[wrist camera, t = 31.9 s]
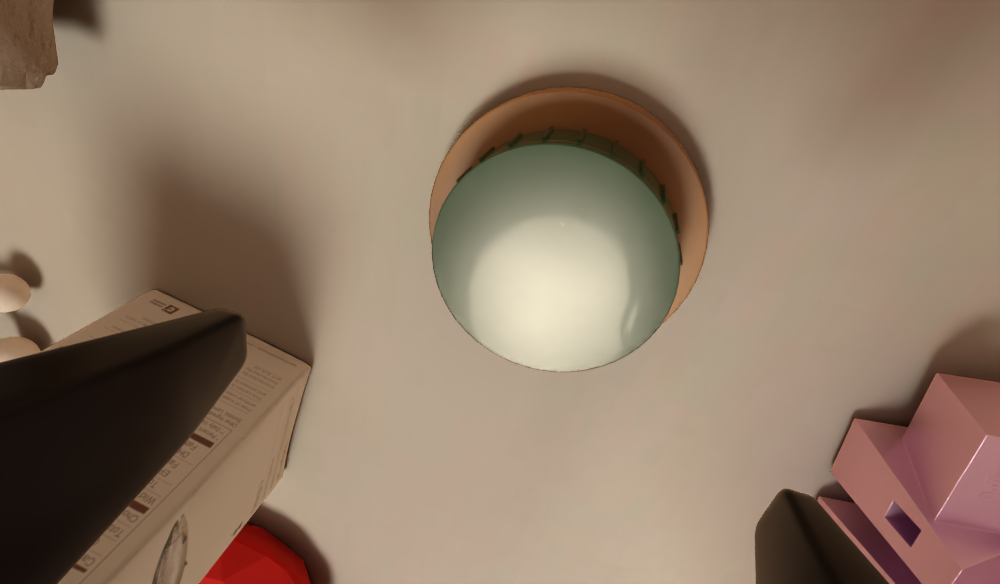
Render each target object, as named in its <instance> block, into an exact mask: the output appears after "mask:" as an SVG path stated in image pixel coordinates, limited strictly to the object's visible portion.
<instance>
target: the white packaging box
mask: <svg viewBox="0 0 1000 584" xmlns="http://www.w3.org/2000/svg"><path fill="white" fill-rule="evenodd" d="M201 312H202V311H200V310H198V309H196V308H194V307H192V306H190V305H188V304H185V303H183V302H181V301H179V300H177V299H175V298H173V297H171V296H169V295H166V294H164V293H162V292H160V291H157V290H151V291H149V292H147V293H145V294H144V295H142V296H140V297H138V298H136V299H135V300H133V301H131V302H129V303H127V304H126V305H124V306H122V307H120V308H118V309H117V310H115V311H113V312H111V313H109V314H107V315H105V316H104V317H102V318H100V319H98V320H96V321H95V322H93V323H91V324H90V325H88V326H86V327H84V328H82V329H80V330H79V331H77V332H75V333H73V334H71V335H70V336H68V337H66V338H64V339H62V340H61V341H59V342H57V343H55V344H53V345H51V346H50V347H48V348H46V349H44V350H42V351H41V352H44V351H48V350H52V349H56V348H60V347H64V346H68V345H72V344H76V343H80V342H84V341H88V340H92V339H96V338H100V337H104V336H108V335H112V334H116V333H120V332H124V331H128V330H132V329H136V328H140V327H144V326H148V325H153V324H157V323H161V322H165V321H169V320H173V319H177V318H181V317H185V316H189V315H193V314H197V313H201ZM246 339H247V357H246V361H245V363H244V365H243V367H242V368H241V370H240V371H239V372H238V374H237V375H236V377H235V378H234V379H233V381H232V382H231V383H230V385H229V386H228V387H227V389H226V390H225V391H224V393H223V394H222V395H221V397H220V398H219V400H218V401H217V402H216V404H215V405H214V406H213V408H212V409H211V410H210V412H209V413H208V414H207V416H206V417H205V419H204V420H203V421H202V423H201V424H200V425H199V427H198V428H197V429H196V430H195V432H194V433H193V434H192V436H191V437H190V438H189V439H188V440H187V442H186V443H185V444H184V445H183V446H182V447H181V448H180V450H179V451H178V452H177V453H176V454H175V455H174V456H173V457H172V458H171V460H170V461H169V462H168V463H167V464H166V465H165V466H164V467H163V468H162V469H161V471H160V472H159V473H158V474H157V475H156V476H155V477H154V478H153V479H152V480H151V482H150V483H149V484H148V485H147V486H146V487H145V488H144V489H143V490H142V492H141V493H140V494H139V495H138V496H137V497H136V498H135V499H134V500H133V501H132V503H131V504H130V505H129V506H128V507H127V508H126V509H125V510H124V511H123V512H122V514H121V515H120V516H119V517H118V518H117V519H116V520H115V521H114V522H113V523H112V525H111V526H110V527H109V528H108V529H107V530H106V531H105V532H104V533H103V534H102V536H101V537H100V538H99V539H98V540H97V541H96V542H95V543H94V544H93V546H92V547H91V548H90V549H89V550H88V551H87V552H86V553H85V554H84V555H83V557H82V558H81V559H80V560H79V561H78V562H77V563H76V564H75V565H74V566H73V568H72V569H71V570H70V571H69V572H68V573H67V574H66V575H65V576H64V577H63V579H62V580H61V581H60V582H59V583H58V584H199V583H200V582H201V580H202V579H203V578H204V576H205V575H206V574H207V573H208V571H209V570H210V569H211V567H212V566H213V565H214V564H215V562H216V561H217V560H218V558H219V557H220V556H221V555H222V553H223V552H224V551H225V549H226V548H227V547H228V546H229V544H230V543H231V542H232V541H233V539H234V538H235V537H236V535H237V534H238V533H239V532H240V531H241V529H242V528H243V527H244V525H245V524H246V523H247V522H248V520H249V519H250V518H251V516H252V515H253V514H254V513H255V511H256V510H257V509H258V508H259V506H260V505H261V504H262V502H263V501H264V500H265V498H266V497H267V496H268V495H269V493H270V492H271V491H272V489H273V488H274V487H275V486H276V484H277V483H278V482H279V480H280V479H281V478H282V476H283V472H284V466H285V461H286V455H287V451H288V447H289V442H290V438H291V434H292V430H293V427H294V423H295V419H296V416H297V412H298V409H299V405H300V402H301V398H302V395H303V392H304V389H305V385H306V382H307V379H308V376H309V374H310V370H311V367H310V366H308V364H307V363H305V362H303V361H301V360H299V359H297V358H295V357H293V356H291V355H289V354H287V353H285V352H283V351H281V350H279V349H277V348H275V347H273V346H271V345H269V344H267V343H265V342H263V341H261V340H259V339H257V338H255V337H253V336H251V335H249V334H247V333H246ZM39 353H40V352H39Z"/></svg>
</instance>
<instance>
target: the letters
mask: <svg viewBox="0 0 1000 584" xmlns="http://www.w3.org/2000/svg"><path fill="white" fill-rule="evenodd" d="M830 472H831V473H832V475H833V476H834V477H835V478H836V479H837V481H838V482H839V483H840V484H841V485H842V487H843V488H844V489H845V490H846V492H847V493H848V494H849V495H850V496H851V498H852V499H853V500H854V501H855V503H851V502H846V501H841V500H836V499H830V498H825V497H820V496H819V497H818V500H817V502H818V503H819V504H820V505H821V506H822V507H823V508H824V510H825V511H826V512H827V513H828V514H829V515H830V516H831V518H832V519H833V520H834V521H835V522H836V523H837V524H838V526H839V527H840V528H841V529H842V530H843V531H844V532H845V534H846V535H847V536H848V537H849V538H850V539H851V540H852V542H853V543H854V544H855V545H856V546H857V547H858V548H859V549H860V551H861V552H862V553H863V554H864V555H865V556H866V557H867V559H868V560H869V561H870V562H871V563H872V564H873V565H874V567H875V568H876V569H877V570H878V571H879V572H880V573H881V575H882V576H883V577H884V578H885V579H886V580H887V581H888V583H889V584H1000V382H994V381H987V380H981V379H974V378H967V377H961V376H954V375H947V374H941V373H936V375H935V377H934V379H933V381H932V382H931V384H930V386H929V388H928V390H927V392H926V394H925V396H924V398H923V400H922V402H921V404H920V405H919V407H918V409H917V411H916V413H915V415H914V417H913V419H912V421H911V423H910V425H909V427H903V426H897V425H891V424H885V423H879V422H874V421H868V420H862V419H856V418H855V419H854V420H853V423H852V425H851V427H850V429H849V431H848V434H847V436H846V438H845V440H844V442H843V445H842V447H841V449H840V451H839V453H838V456H837V458H836V460H835V462H834V464H833V467H832V469H831V471H830Z"/></svg>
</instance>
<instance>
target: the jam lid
mask: <svg viewBox="0 0 1000 584" xmlns="http://www.w3.org/2000/svg"><path fill="white" fill-rule="evenodd" d="M618 143H619V141H617V140H615V141H614V142H612V141H610V140H608V139H605V138H603V137H601V136H598V135H594V134H591V133H587V129H583V130H582V131H575V130H568V129H554V126H552V127H549V128H548V129H547V130H544V131H536V132H532V133H529V134H525V135H522V132H521V133H518V134H517V135H516V136H515V137H514V138H513V139H512V140H510V141H507V142H505V143H504V144H502V145H500V146H499V147H497V148H494V146H493V147H492V148H490V149H489V150H488V151H487V152H486V153H485V154H483V155H482V156H481V157H480V158H479V159H478V160H479V162H478V163H477V164H476V165H475V166H474V167H472V166H471V167H470V168H469V169H468V170H467V171H466V172H464V173H463V174H462V175H461V176H460V177H459V178H458V179H457V180H456V182H457V184H456V185H455V186H454V187H453V189H452V190H451V192H450V193H449V195H448V196H447V198H446V199H445V201H444V203H443V204H442V206H441V209H440V212H439V214H438V218H437V221H436V224H435V228H434V234H433V239H432V260H433V269H434V273H435V277H436V282H437V285H438V287H439V290H440V293H441V295H442V297H443V299H444V301H445V303H446V305H447V307H448V309H449V310H450V312H451V313H452V315H453V316H454V317H455V319H456V320H457V322H458V323H459V324H460V325H461V326H462V327H463V328H464V330H465V331H466V332H467V333H468V334H470V335H471V336H472V337H473V338H474V339H475V340H476V341H477V342H479V343H480V344H481V345H483V346H484V347H485V348H487V349H488V350H490V351H492V352H493V353H495V354H497V355H498V356H500V357H502V358H504V359H507V360H509V361H511V362H513V363H516V364H519V365H522V366H525V367H529V368H533V369H538V370H544V371H553V372H574V371H583V370H589V369H593V368H597V367H601V366H604V365H607V364H609V363H612V362H615V361H617V360H619V359H621V358H623V357H625V356H627V355H628V354H630V353H631V352H633V351H634V350H636V349H637V348H639V347H640V346H641V345H642V344H643V343H644V342H645V341H647V340H648V339H649V338H650V337H651V336H652V335H653V334H654V332H655V331H656V330H657V329H658V328H659V327H660V325H661V324H662V322H663V321H664V319H665V317H666V316H667V314H668V312H669V310H670V308H671V306H672V304H673V301H674V299H675V295H676V294H677V288H678V285H679V277H680V265H683V259H682V253H681V246H680V243H678V237H677V234H679V233H680V229H679V223H678V217H677V213H673V211H672V208H671V205H670V202H669V199H668V197H667V192H666V186H665V184H662V185H661V184H660V183H659V181H658V180H657V178H656V177H655V175H654V174H653V173H652V172H651V171H650V170H649V168H648V167H647V166H646V161H645V160H644V159H642V160H640V159H638V158H637V157H636V156H635V155H633V154H632V153H631V152H630V151H628V150H626V149H625V148H623V147H622V146H620V145H618Z"/></svg>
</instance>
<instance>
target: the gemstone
mask: <svg viewBox="0 0 1000 584" xmlns="http://www.w3.org/2000/svg"><path fill="white" fill-rule="evenodd" d="M199 584H311V583H310V580H309V577H308V574H307V571H306V567H305V564H304V561H303V559H302V558H301V557H300V556H298V555H297V554H296V553H295V552H293V551H292V550H291V549H289V548H288V547H287V546H286V545H284V544H283V543H282V542H281V541H279V540H278V539H277V538H275V537H274V536H273V535H272V534H270V533H269V532H268V531H267V530H265V529H264V528H263V527H260V526H255V525H250V524H245V525H244V527H243V528H242V529H241V531H240V532H239V533H238V534H237V535H236V537H235V538H234V539H233V541H232V542H231V543H230V544H229V546H228V547H227V548H226V549H225V551H224V552H223V553H222V555H221V556H220V557H219V558H218V560H217V561H216V562H215V564H214V565H213V566H212V567H211V569H210V570H209V571H208V573H207V574H206V575H205V576H204V578H203V579H202V580H201V582H200V583H199Z"/></svg>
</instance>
